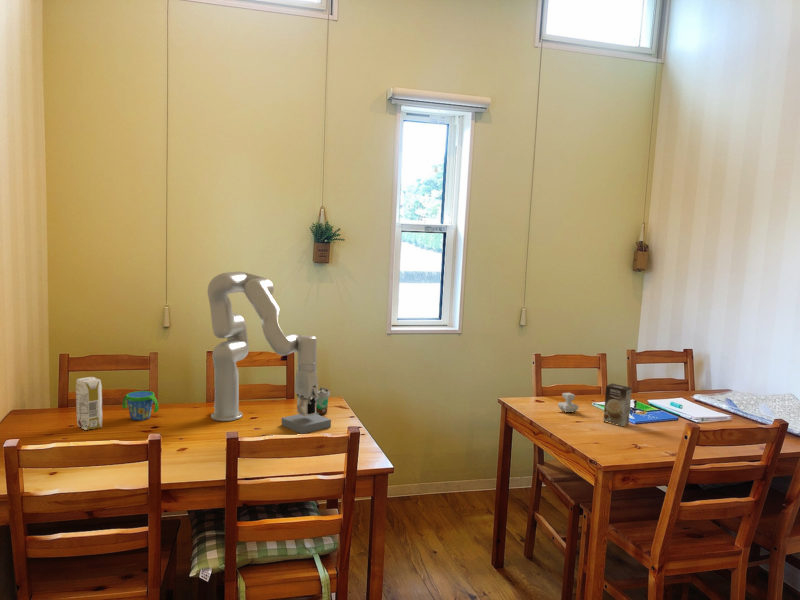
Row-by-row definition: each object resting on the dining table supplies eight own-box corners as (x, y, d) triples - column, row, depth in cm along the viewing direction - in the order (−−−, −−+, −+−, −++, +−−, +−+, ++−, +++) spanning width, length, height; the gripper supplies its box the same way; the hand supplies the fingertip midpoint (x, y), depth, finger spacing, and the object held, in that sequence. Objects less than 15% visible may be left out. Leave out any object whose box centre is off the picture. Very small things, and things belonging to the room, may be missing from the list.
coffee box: (602, 422, 255) (604, 385, 254) (608, 419, 260) (611, 383, 258) (623, 427, 249) (626, 389, 247) (629, 424, 254) (632, 387, 252)
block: (297, 412, 238) (297, 397, 237) (308, 410, 241) (308, 395, 241) (304, 415, 234) (304, 400, 233) (316, 413, 237) (316, 398, 237)
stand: (281, 425, 238) (281, 417, 238) (310, 418, 248) (310, 411, 248) (301, 434, 228) (301, 426, 228) (330, 427, 238) (330, 419, 237)
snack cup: (165, 417, 244) (165, 393, 243) (145, 424, 234) (145, 399, 233) (135, 412, 249) (135, 388, 248) (115, 419, 239) (115, 394, 238)
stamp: (563, 414, 265) (564, 396, 264) (555, 410, 271) (556, 392, 270) (580, 413, 267) (581, 395, 266) (572, 409, 274) (573, 391, 273)
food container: (324, 418, 249) (324, 395, 248) (310, 417, 250) (310, 393, 249) (333, 410, 261) (333, 387, 260) (320, 409, 262) (320, 386, 261)
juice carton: (83, 432, 223) (82, 382, 221) (75, 427, 229) (73, 378, 227) (104, 428, 228) (103, 379, 227) (95, 422, 234) (94, 375, 232)
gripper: (287, 364, 239) (286, 408, 241) (311, 372, 227) (311, 418, 229) (302, 362, 244) (302, 405, 246) (327, 369, 232) (327, 414, 234)
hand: (306, 411), depth 237 cm, fingers closed on block, 5 cm apart
